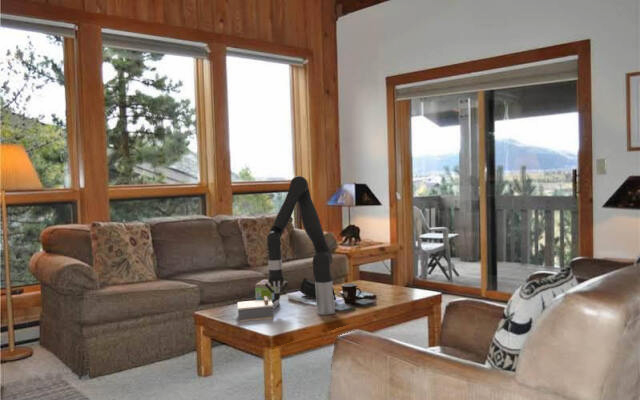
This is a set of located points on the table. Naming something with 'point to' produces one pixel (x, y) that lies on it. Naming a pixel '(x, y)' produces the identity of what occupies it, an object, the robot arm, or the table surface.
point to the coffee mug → (350, 292)
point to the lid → (255, 304)
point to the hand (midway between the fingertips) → (277, 299)
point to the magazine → (310, 289)
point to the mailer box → (256, 314)
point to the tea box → (265, 292)
